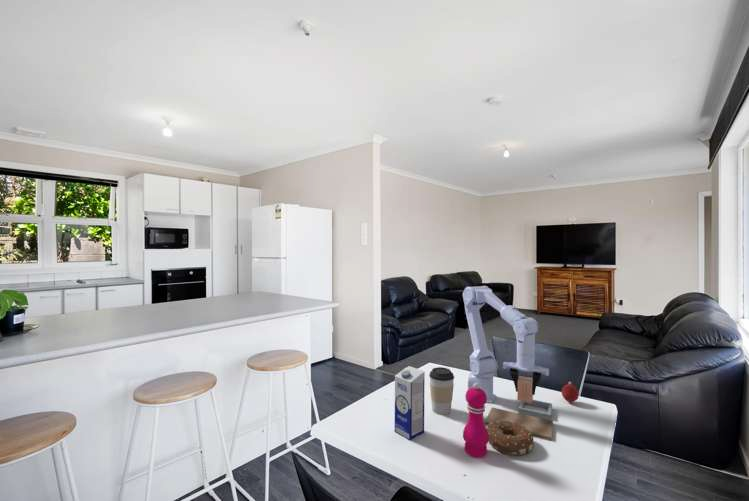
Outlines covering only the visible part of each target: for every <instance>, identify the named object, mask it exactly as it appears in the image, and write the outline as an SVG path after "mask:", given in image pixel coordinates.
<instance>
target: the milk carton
mask: <svg viewBox="0 0 749 501" xmlns="http://www.w3.org/2000/svg"><path fill="white" fill-rule="evenodd" d="M425 372H426V371H424V370H422V369H420V368H416V367H414V366H410V365H408V366H407V367H404V368H403V369H402V370H401V371H399V372H398V373H396V374H395V375H394V432H395V433H396V434H398V435H399V436H402V437H403V438H405V439H407V440H408V441H411V440H413V439H415V438H417V437H420V436H421V435H423V434H425V384H426V383H425V378H426V377H425V374H426V373H425Z"/></svg>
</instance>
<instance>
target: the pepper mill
mask: <svg viewBox="0 0 749 501" xmlns="http://www.w3.org/2000/svg"><path fill="white" fill-rule="evenodd" d="M464 396H465V400H466V402H467V405H466V406H467V407H466V409H467V411H468V416H467V417H468V419H467V422H466V423H465V426H464V428H463V432H462V438H463V440H464V442H465V443H464V452H465V453H466V454H467V455H469V456H470V457H474V458H477V459H478V458H479V459H480V458H484V457H486V456H487V453H488V446H487V444H489V436H488V432H487V429H486V428H487V427H486V424H485V419H484V413H485V412H486V406H485V405H486V403H488V402H487V396H486V393H485V392H484V391H483V390H482V389H480V388H479V384H478V383H474V384H473V388H470V389H468V388H467V391H466V393H465V395H464Z"/></svg>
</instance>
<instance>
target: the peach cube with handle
mask: <svg viewBox="0 0 749 501" xmlns="http://www.w3.org/2000/svg"><path fill="white" fill-rule="evenodd" d="M532 389H533V377H527V376H522V375H518V392H517V398H516V399H517V401H518V402H521V401H523V402H528V403H532V401H533V400H534V395H532Z"/></svg>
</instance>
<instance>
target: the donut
mask: <svg viewBox="0 0 749 501" xmlns="http://www.w3.org/2000/svg"><path fill="white" fill-rule="evenodd" d="M486 429H487V432H488V436H489V441H488V444H489V445H491V446H492V447H493V448H495V449H496V450H498V451H499V452H502V453H504V454H507V455H511V456H512V455H513V456H515V455H516V456H519V455H521V456H522V455H525V454H528V453H530V452H531V451H532V450H533V448H534V447H535V441H534V436H532V434H531V433H530V432H529V431H528V429H527V428H525V427H524V426H523V425H520V424H518V423H516V422H515V423H513V422H509V421H505V420H500V421H495V422H491V424H489V425H487V427H486Z"/></svg>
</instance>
